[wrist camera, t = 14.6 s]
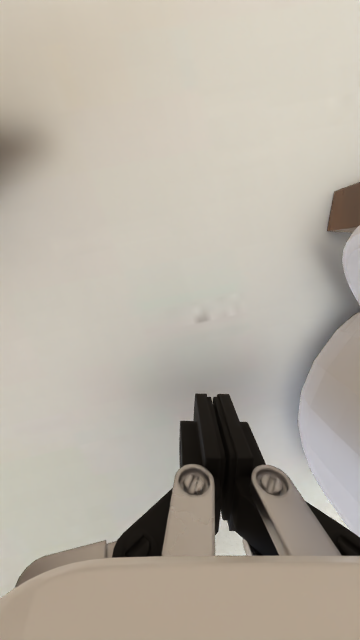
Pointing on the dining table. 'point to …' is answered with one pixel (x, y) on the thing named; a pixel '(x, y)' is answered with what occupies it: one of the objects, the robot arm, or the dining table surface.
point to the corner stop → (345, 209)
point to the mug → (337, 407)
